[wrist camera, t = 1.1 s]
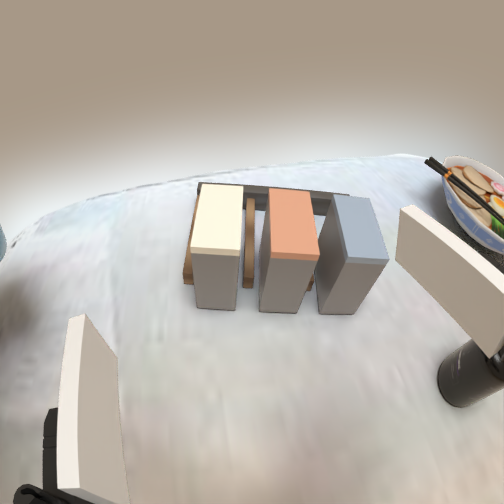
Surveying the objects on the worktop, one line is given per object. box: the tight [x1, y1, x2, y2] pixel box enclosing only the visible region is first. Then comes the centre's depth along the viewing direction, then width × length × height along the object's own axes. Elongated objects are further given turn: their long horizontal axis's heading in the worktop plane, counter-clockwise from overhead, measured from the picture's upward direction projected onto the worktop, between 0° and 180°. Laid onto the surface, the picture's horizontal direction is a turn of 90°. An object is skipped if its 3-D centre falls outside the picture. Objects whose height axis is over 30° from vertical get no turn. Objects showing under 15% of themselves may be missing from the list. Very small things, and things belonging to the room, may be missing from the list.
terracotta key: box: [259, 188, 320, 313], centre depth 32 cm, size 8×4×10 cm, turn 179°
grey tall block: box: [190, 184, 243, 310], centre depth 32 cm, size 8×4×10 cm, turn 179°
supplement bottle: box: [439, 339, 504, 407], centre depth 24 cm, size 7×7×12 cm
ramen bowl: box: [425, 155, 504, 254], centre depth 43 cm, size 25×23×8 cm
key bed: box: [183, 182, 350, 291], centre depth 39 cm, size 14×20×3 cm
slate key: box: [314, 194, 389, 314], centre depth 33 cm, size 8×4×10 cm, turn 179°
